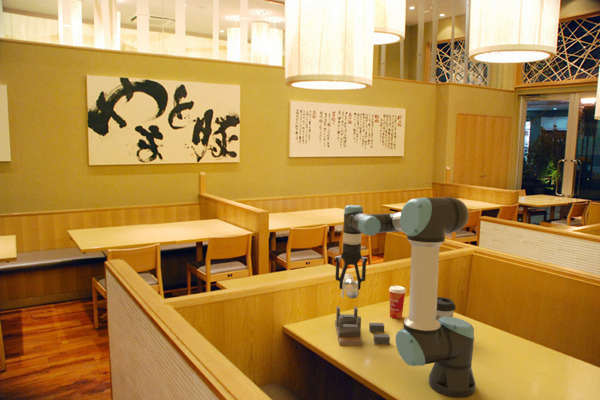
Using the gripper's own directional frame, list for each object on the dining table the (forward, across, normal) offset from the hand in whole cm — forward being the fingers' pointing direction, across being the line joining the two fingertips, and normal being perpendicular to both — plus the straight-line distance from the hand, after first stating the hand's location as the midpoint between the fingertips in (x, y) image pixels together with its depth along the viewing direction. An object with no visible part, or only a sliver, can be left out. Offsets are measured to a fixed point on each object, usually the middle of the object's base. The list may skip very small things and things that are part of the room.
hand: (349, 296), depth 201 cm
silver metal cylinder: (-2, 0, 0) cm, 2 cm away
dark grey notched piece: (+16, 0, 0) cm, 16 cm away
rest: (+16, -13, +2) cm, 21 cm away
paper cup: (+17, -25, -21) cm, 37 cm away
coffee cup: (+17, -40, -2) cm, 43 cm away
